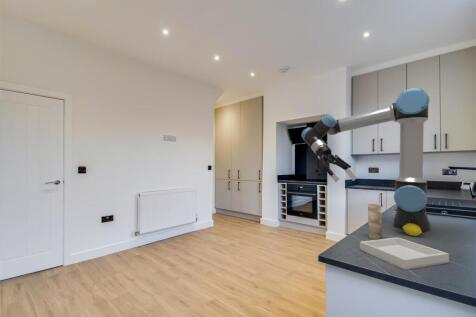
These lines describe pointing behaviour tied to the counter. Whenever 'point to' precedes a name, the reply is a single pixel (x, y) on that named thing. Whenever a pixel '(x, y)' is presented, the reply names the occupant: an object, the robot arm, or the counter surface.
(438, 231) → the counter surface
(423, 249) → the tray
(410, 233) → the lemon
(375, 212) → the dowel
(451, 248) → the counter surface
